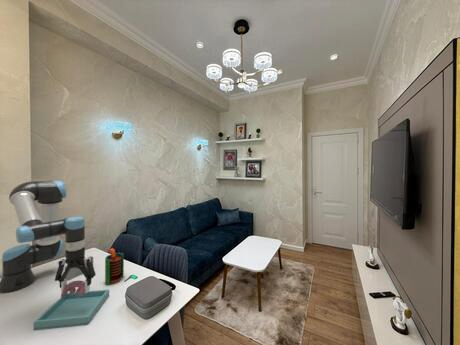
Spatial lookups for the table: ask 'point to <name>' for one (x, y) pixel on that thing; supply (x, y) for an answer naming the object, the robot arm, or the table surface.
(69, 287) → the video game controller
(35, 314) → the table surface
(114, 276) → the motor
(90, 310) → the tray
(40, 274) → the table surface
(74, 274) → the cassette player
